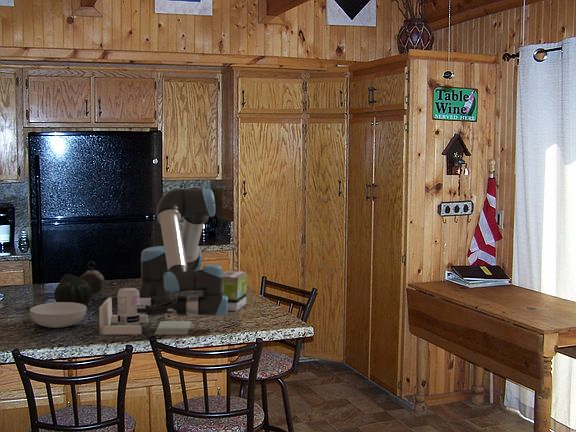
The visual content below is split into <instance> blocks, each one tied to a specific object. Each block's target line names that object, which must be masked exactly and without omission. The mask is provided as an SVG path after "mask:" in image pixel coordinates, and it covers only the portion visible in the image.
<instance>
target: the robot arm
mask: <svg viewBox="0 0 576 432" xmlns="http://www.w3.org/2000/svg"><path fill="white" fill-rule="evenodd" d="M215 215H216V201H215V194H214V191H213V190H212V189H210V188H205V187H202V188H199V187H197V188H173V189H171V190H169V191H167V192H166V193H165V194H164V195H163V196H161V198H160V200H159V202H158V204H157V206H156V220H157V222H158V224H160V229H161V235H162V242H163V245H157V246H151V247H147V248H145V249H143V250H142V251H141V254H140V255H141V256H140V265H141V268H140V269H141V270H140V273H141V275H140V277H141V278H140V279H141V282H140V285H139V289H138V291H139V297H140V306H128V314H140V315H148V317H149V316H154V315H162V314H163V315H164V314H173V313H174V311H176V316H181V317H182V316H187V315H188V316H193V317H194V318H195V317H196V318H197V316H214V317H216V316H225V315H228V312H229V311H228V297H227V296H224V295H223V293H222V286H223V267H222V266H221V265H220V264H213V263H209V264H205V265H204V264H203V266H202V261H203V255H202V251H201V249H200V248H199V244H200V239H201V236H202V232H203V227H204V224H205V223H207V222H208V220H209V217H210V218H212V217H215ZM182 218H183V223H182V226H181V223H180V221H181V220H182ZM201 268H202V270H201ZM196 291H197V292H198V291H202V295H188V296H187V295H178V296H177V297H176V298H172V293H180V292H196Z"/></svg>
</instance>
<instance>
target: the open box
mask: <svg viewBox="0 0 576 432" xmlns="http://www.w3.org/2000/svg"><path fill="white" fill-rule="evenodd" d="M112 303H113V297H107V299H106V300H104V301H103V303H102V304H101V306H99V308H98V309H99V311H98V312H99V314H98V315H99V316H98V317H99V320H98V322H99V335H142V334H143V328H142V327H143V326H142V325H140V326H118V325H112V324H118V314H113V304H112ZM148 323H149V316H148V315H147V314H140V324H148Z"/></svg>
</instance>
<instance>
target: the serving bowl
mask: <svg viewBox="0 0 576 432" xmlns="http://www.w3.org/2000/svg"><path fill="white" fill-rule="evenodd" d="M87 309H88V307H87V306H86V305H83V304H79V303H72V302H56V301H55V302H49V303H41V304H37V305H35V306H32V307H31V308H30V309H29V314H30V317H31V319H32V320H33V321H34V323H36V324H37V325H39V326H42V327H46V328H50V329H62V328H67V327H71V326H74V325H77V324H78V323H80V322H81V321H83V319H84V318H85V316H86V314H87Z"/></svg>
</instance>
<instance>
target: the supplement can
mask: <svg viewBox="0 0 576 432" xmlns="http://www.w3.org/2000/svg"><path fill="white" fill-rule="evenodd" d="M128 306H141V305H140V297H139V289H138V288H136V287H124V288H123V287H122V288H120V289H119V290H118V292H117V315H118V323H117V326H141V323H140V315H141V314H128Z"/></svg>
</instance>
